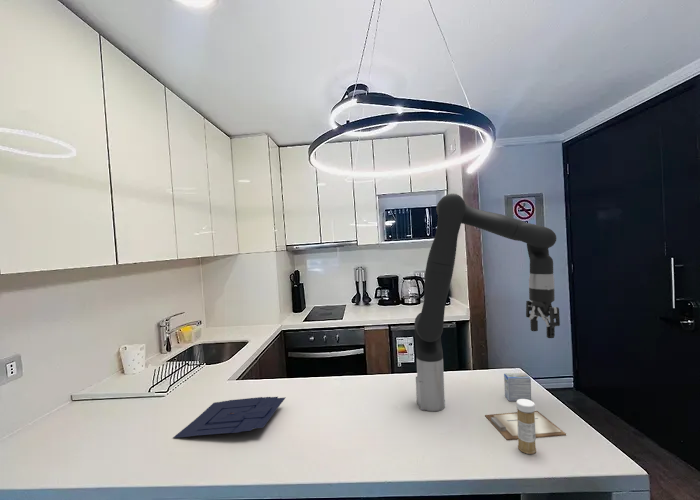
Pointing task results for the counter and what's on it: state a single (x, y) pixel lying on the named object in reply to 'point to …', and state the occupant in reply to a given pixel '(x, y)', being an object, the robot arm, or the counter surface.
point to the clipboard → (509, 425)
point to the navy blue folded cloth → (233, 416)
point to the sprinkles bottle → (526, 426)
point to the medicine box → (517, 386)
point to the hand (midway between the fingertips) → (542, 334)
